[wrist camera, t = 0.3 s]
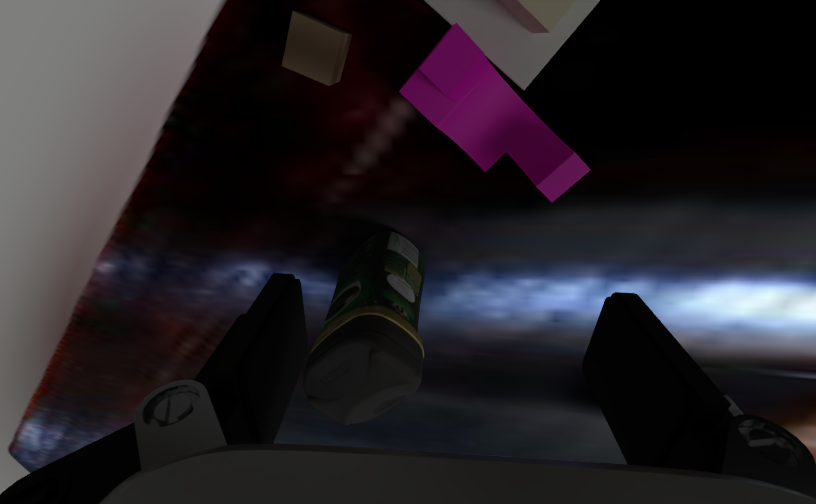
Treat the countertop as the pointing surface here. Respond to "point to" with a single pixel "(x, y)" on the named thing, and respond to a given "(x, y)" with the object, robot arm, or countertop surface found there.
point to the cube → (316, 48)
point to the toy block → (488, 114)
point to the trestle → (516, 30)
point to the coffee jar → (370, 333)
